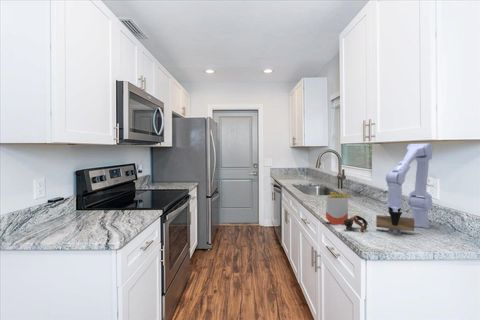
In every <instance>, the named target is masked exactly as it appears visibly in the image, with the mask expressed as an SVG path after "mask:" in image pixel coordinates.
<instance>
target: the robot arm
mask: <svg viewBox="0 0 480 320" xmlns="http://www.w3.org/2000/svg"><path fill="white" fill-rule="evenodd" d="M432 157H433V147H432V144H431V143H428V142H426V143H409V144H408V145H407V147H406V154H405V155H404V157H403V159H402V161H399V162H398V163H396V165H395V166H394V168H393V169H392V171H390V172H388V173H387V174H386V176H385V182H386V186H387V187H388V189H387V191H388V197H387V201H388V202H387V203H386V204H385V206H386V207H387V208H388V211H387V212H388V214H389V216H391V220H392V225H394V226H398V223H399V218H400V217H402V214H403V212H402V211H401V210H402V208H403V203H402V198H403V195H402V193H403V187H402V186H403V184H404V183H405V180H406V174H407V173H408V172H409V171H410V168H411V166H410V165H411V163H413V162H414V160H415V161H416V170H415V171H416V174H415V182H414V190H413V191H411V192H409V195H408V198H407V205H408V206H409V207H410V209H411V218H414V228H424V229H425V228H426V229H430V227H431V226H430V225H429V224H428V223H429V220H428V219H429V211H430V210H431V208H432V207H433V196H432V195H431V194H430V193H429V192H427V184H428V174H429V163H430V161H431V160H432Z"/></svg>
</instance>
